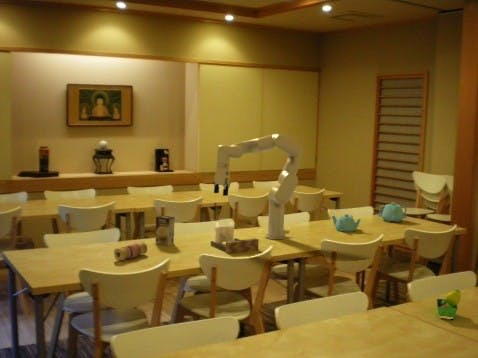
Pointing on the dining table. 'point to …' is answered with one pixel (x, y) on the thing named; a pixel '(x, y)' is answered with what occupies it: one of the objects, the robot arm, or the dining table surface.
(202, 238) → the dining table surface
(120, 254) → the scroll
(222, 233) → the cable organizer
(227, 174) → the robot arm
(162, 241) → the coffee box
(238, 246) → the guide track
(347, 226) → the teapot
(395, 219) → the decorative pot
